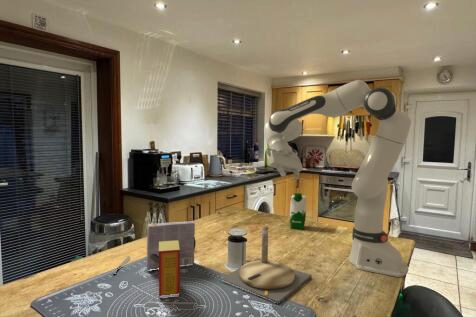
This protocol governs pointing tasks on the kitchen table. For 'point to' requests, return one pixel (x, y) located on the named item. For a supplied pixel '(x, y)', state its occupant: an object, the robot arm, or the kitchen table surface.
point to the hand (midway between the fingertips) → (290, 177)
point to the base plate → (271, 294)
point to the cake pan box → (169, 233)
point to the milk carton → (297, 211)
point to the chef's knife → (124, 262)
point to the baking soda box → (169, 267)
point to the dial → (266, 270)
